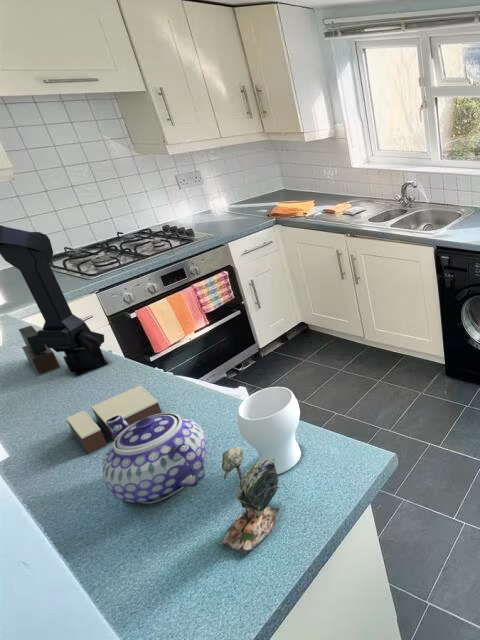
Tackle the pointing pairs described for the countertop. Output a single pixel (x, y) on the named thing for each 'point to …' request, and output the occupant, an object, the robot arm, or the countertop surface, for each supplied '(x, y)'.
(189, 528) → the countertop surface
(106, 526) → the countertop surface
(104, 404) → the cake loaf
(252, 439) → the cup
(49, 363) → the knife block
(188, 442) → the teapot
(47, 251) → the robot arm
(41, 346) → the black handle
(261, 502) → the bird figurine
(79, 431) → the cream-topped brown block
